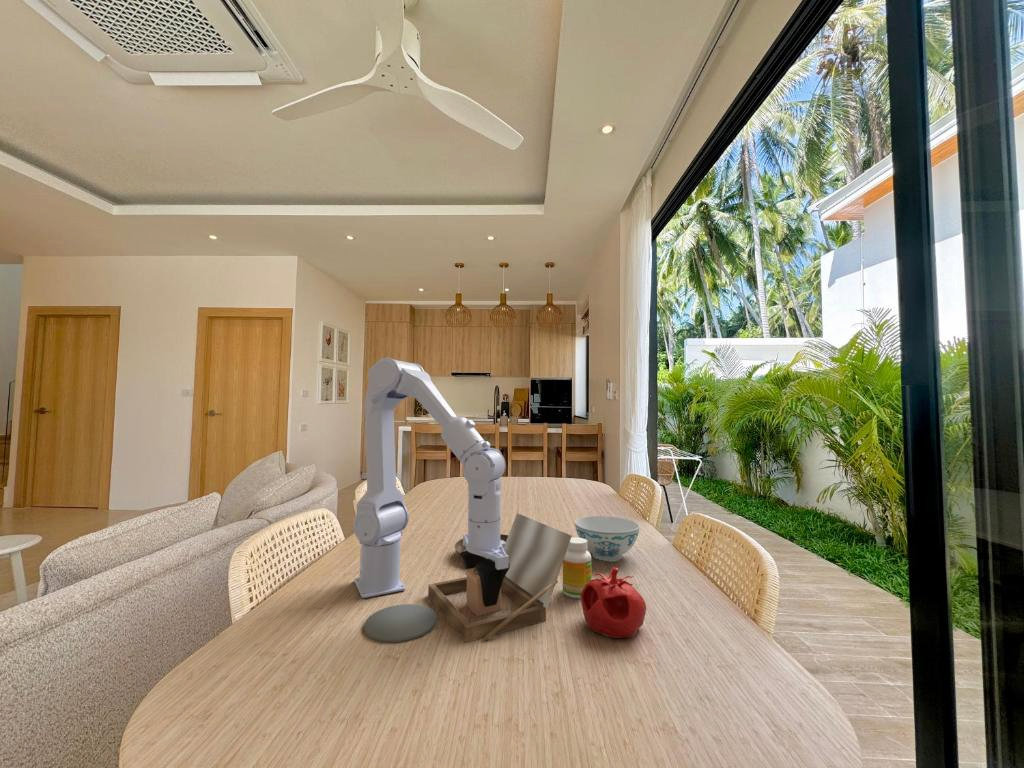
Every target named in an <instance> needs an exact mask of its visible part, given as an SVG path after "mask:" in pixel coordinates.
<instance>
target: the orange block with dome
mask: <svg viewBox="0 0 1024 768" xmlns="http://www.w3.org/2000/svg"><path fill="white" fill-rule="evenodd" d="M464 575H465V577H467V590H466V602H465V603H466V607H468V608H469V609H470V610H471V611H472V612H473V614H475V615H476V616H481V615H484V614H489V613H494V612H497V611H501V610H502V590H501V588H500V592H499V596H498V601H497V604H496V605H493V606H488V607H485V606H484V603H483V597H482V586H481V580H480V577H479V574H478V571H477V569H476V568H470V569H466V568H465V569H464Z"/></svg>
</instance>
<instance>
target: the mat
mask: <svg viewBox="0 0 1024 768" xmlns="http://www.w3.org/2000/svg"><path fill="white" fill-rule="evenodd" d="M436 614H437V613H435V611H434V610H433V609H432V608H430V607H428V606H425V605H421V604H415V603H414V604H412V603H410V604H408V603H406V604H405V603H404V604H396V605H391V606H387V607H384V608H382V609H379V610H378V611H375V612H373V613H372V614H371V615H369V617H368V618H366V620H365V623H364V633H365V635H366V636H367V637H369V638H370V639H372V640H375V641H377V642H383V643H402V642H408V641H412V640H414V639H417V638H420V637H423V636H425V635H426V634H428V633H429V632H431V630H433V629H434V628H435V626H436V624H437V615H436Z"/></svg>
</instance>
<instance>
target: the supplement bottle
mask: <svg viewBox="0 0 1024 768" xmlns="http://www.w3.org/2000/svg"><path fill="white" fill-rule="evenodd" d="M590 580H592V555H591V553H590V551H589V550H588V549H587V540H586V539H583V538H579V536H577V537H571V540H570V543H569V545H568V548H567V551H566V554H565V557H564V560H563V563H562V592H563V594H564V595H565V596H567V597H569V598H572V599H581V593H582V590H583V588H584V587H585V585H586V583H587V582H589V581H590Z"/></svg>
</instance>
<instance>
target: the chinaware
mask: <svg viewBox="0 0 1024 768" xmlns="http://www.w3.org/2000/svg"><path fill="white" fill-rule="evenodd" d="M574 525H575V526H574V527H575V530H576V533H577V537H578V538H583V539H586V540H587V549H586V550H587V551H588V552H591V553H592V557H593V558H594V557H595V558H594V559H596V558H597V559H596V560H598V559H599V560H598V561H602V560H603V561H602V562H617V560H618V561H620V560H622V557H623V555H624V554H626V553H628V552H629V551H630V550H631V549H632V548H633V546H634V545H635V543H636V541H637V539H638V536H639V532H640V526H641V525H640V524H639V523H638V522H637V521H635V520H632V519H628V518H624V517H620V516H619V517H618V516H612V515H591V516H590V515H589V516H584V517H579V518H578V519H575V520H574ZM619 559H620V560H619Z"/></svg>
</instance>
